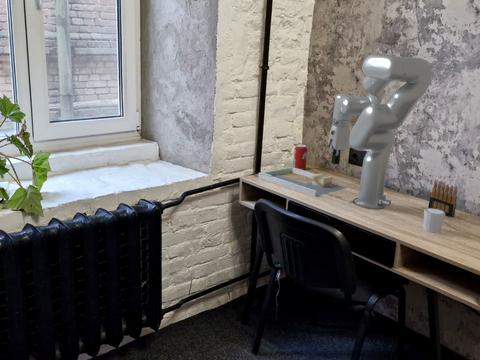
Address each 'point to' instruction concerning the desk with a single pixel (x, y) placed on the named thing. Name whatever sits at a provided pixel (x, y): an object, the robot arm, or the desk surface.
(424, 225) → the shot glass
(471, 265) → the desk surface
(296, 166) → the beverage can
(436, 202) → the ammunition clip
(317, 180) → the wooden block
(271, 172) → the box
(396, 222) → the desk surface
